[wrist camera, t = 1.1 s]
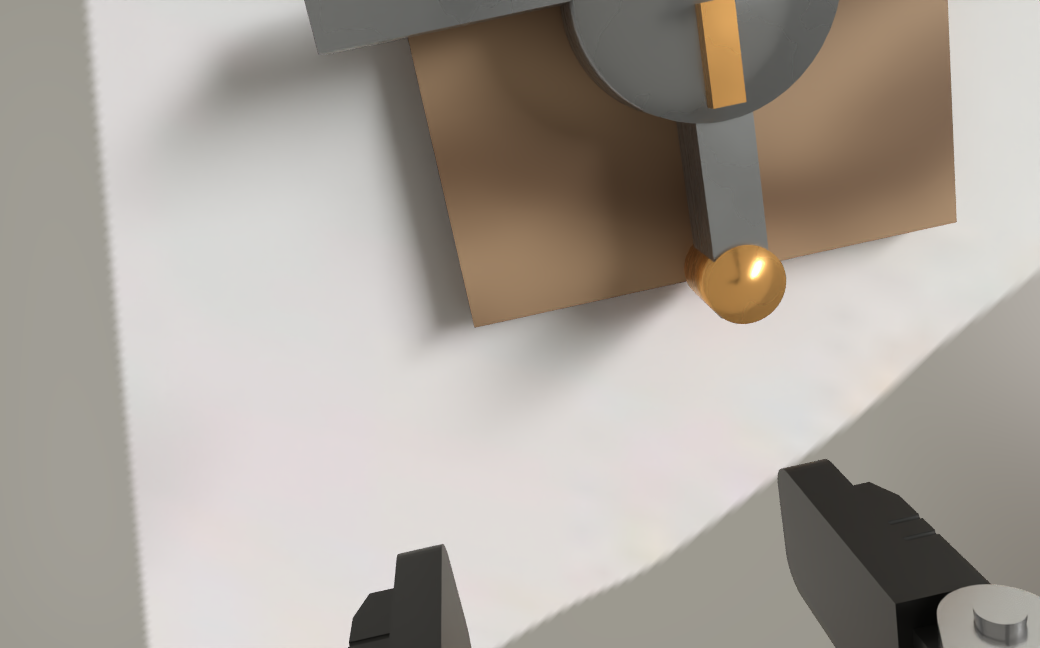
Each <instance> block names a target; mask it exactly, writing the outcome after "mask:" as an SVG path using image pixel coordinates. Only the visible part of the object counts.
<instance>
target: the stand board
mask: <svg viewBox="0 0 1040 648" xmlns="http://www.w3.org/2000/svg"><path fill="white" fill-rule="evenodd" d="M408 41H409V45H410V50H411V54H412V58H413V63H414V67H415V71H416V76H417V80H418V84H419V89H420V93H421V97H422V102H423V106H424V110H425V115H426V119H427V123H428V128H429V132H430V136H431V141H432V145H433V149H434V154H435V158H436V162H437V167H438V171H439V175H440V180H441V184H442V188H443V193H444V197H445V201H446V206H447V210H448V214H449V219H450V223H451V227H452V232H453V236H454V240H455V245H456V249H457V253H458V258H459V262H460V266H461V271H462V275H463V279H464V284H465V288H466V293H467V297H468V301H469V306H470V310H471V314H472V319H473V323H474V327H480V326H484V325H489V324H493V323H498V322H503V321H507V320H512V319H516V318H521V317H525V316H530V315H535V314H539V313H544V312H548V311H553V310H557V309H562V308H567V307H571V306H576V305H580V304H585V303H589V302H594V301H599V300H603V299H608V298H612V297H617V296H621V295H626V294H630V293H635V292H640V291H644V290H649V289H653V288H658V287H662V286H667V285H672V284H676V283H681V282H685V281H687V280H686V277H685V271H684V265H685V259H686V256H687V253H688V251H689V249H690V248H691V246H692V245H693V239H692V231H691V224H690V217H689V210H688V203H687V196H686V189H685V182H684V174H683V167H682V160H681V153H680V146H679V139H678V132H677V125H676V121H673V120H669V119H665V118H662V117H658V116H655V115H651V114H648V113H644V112H641V111H637V110H635V109H633V108H630V107H628V106H626V105H624V104H622V103H620V102H619V101H617V100H615V99H614V98H612V97H611V96H609V95H608V94H607V93H606V92H604V91H603V90H602V89H601V88H600V87H598V85H597V84H596V83H595V82H594V81H593V80H592V79H591V78H590V77H589V76H588V75H587V73H586V72H585V70H584V69H583V68H582V66H581V65H580V63H579V62H578V60H577V58H576V56H575V54H574V52H573V51H572V49H571V46H570V44H569V41H568V38H567V36H566V33H565V29H564V25H563V21H562V17H561V9H560V6H556V7H551V8H546V9H541V10H537V11H532V12H527V13H522V14H518V15H513V16H508V17H504V18H499V19H494V20H489V21H485V22H480V23H475V24H471V25H466V26H461V27H456V28H452V29H447V30H442V31H438V32H433V33H428V34H423V35H419V36H414V37H409V38H408ZM753 116H754V125H755V134H756V143H757V152H758V161H759V169H760V178H761V187H762V196H763V205H764V214H765V223H766V232H767V241H768V250H769V251H770V252H772V253H773V254H774V255H775V256H776V257H777V258H778V259H779V260H780V261H781V260H786V259H790V258H795V257H799V256H804V255H809V254H813V253H818V252H822V251H827V250H831V249H836V248H841V247H845V246H850V245H854V244H859V243H863V242H868V241H873V240H877V239H882V238H886V237H891V236H895V235H900V234H905V233H909V232H914V231H918V230H923V229H927V228H932V227H936V226H941V225H946V224H950V223H955V222H957V220H956V196H955V171H954V146H953V121H952V97H951V72H950V47H949V22H948V0H839V2H838V7H837V11H836V14H835V17H834V20H833V23H832V26H831V29H830V31H829V33H828V35H827V37H826V39H825V41H824V44H823V46H822V47H821V49H820V51H819V52H818V54H817V55H816V57H815V59H814V60H813V62H812V63H811V64H810V66H809V67H808V68H807V69H806V71H805V72H804V73H803V74H802V76H801V77H800V78H799V79H798V80H797V81H796V82H795V83H794V84H793V85H792V86H791V87H790V88H789V89H787V90H786V91H785V92H784V93H782V94H781V95H780V96H778V97H777V98H776V99H774V100H773V101H771V102H770V103H768V104H766V105H765V106H763V107H761V108H760V109H758V110H755V111H753Z"/></svg>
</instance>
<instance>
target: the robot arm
mask: <svg viewBox="0 0 1040 648" xmlns="http://www.w3.org/2000/svg"><path fill="white" fill-rule="evenodd" d="M778 489H779V497H780V506H781V514H782V522H783V531H784V538H785V546H786V555H787V560H788V564H789V568H790V571H791V574H792V577H793V580H794V582H795V585H796V587H797V589H798V591H799V593H800V594H801V596H802V597H803V599H804V600H805V602H806V604H807V605H808V606H809V608H810V609H811V611H812V613H813V614H814V616H815V617H816V619H817V620H818V622H819V623H820V625H821V626H822V628H823V629H824V631H825V632H826V634H827V635H828V637H829V638H830V640H831V641H832V643H833V644H834V646H835V647H836V648H1040V597H1039V596H1037V595H1034V594H1032V593H1030V592H1027V591H1024V590H1021V589H1017V588H1013V587H1008V586H1003V585H991V584H990V583H989V582H988V581H987V580H986V579H985V578H984V577H983V576H982V575H981V574H980V573H979V572H978V571H977V570H976V569H975V568H974V567H973V566H972V565H971V564H970V563H969V562H968V561H967V560H966V559H964V558H963V557H962V556H961V555H960V554H959V553H958V552H957V551H956V550H955V549H954V548H953V547H952V546H951V545H950V544H949V543H948V542H947V541H946V540H945V539H944V538H943V537H942V536H941V535H940V534H936V533H935V530H934V529H933V528H932V527H931V526H930V525H929V524H928V523H927V522H926V521H925V520H924V519H923V518H921V519H920V517H919V514H918V513H916V511H915V510H914V509H913V508H912V507H911V506H910V505H908V504H907V503H906V502H905V501H904V500H903V499H902V498H901V497H900V496H899V495H897V494H895V493H893V492H890V491H888V490H886V489H883V488H881V487H879V486H877V485H875V484H873V483H870V482H867V483H862V484H858V485H854V486H853V485H852V484H851V483H850V482H849V481H848V479H846V477H845V476H844V475H843V474H842V473H841V472H840V471H839V470H838V469H837V468H836V467H835V466H834V465H833V464H832V463H831V462H830V461H829V460H827V459H823V460H818V461H814V462H810V463H805V464H801V465H796V466H792V467H787V468H783V469H780V470H779V472H778ZM349 645H350V647H348V648H471V644H470V638H469V633H468V629H467V625H466V621H465V617H464V613H463V609H462V606H461V602H460V598H459V594H458V591H457V587H456V583H455V579H454V576H453V572H452V568H451V564H450V560H449V557H448V553H447V550H446V548H445V546H444V544H441V545H436V546H432V547H427V548H423V549H419V550H414V551H410V552H405V553H401V554H398V555H397V561H396V571H395V582H394V588H393V589H388V590H384V591H379V592H375V593H370V594H369V595H368V597H367V598H366V600H365V601H364V603H363V604H362V605H361V607H360V608H359V610H358V611H357V613H356V614H355V616H354V617H353V621H352V627H351V633H350V639H349Z"/></svg>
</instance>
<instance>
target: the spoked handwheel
mask: <svg viewBox="0 0 1040 648" xmlns="http://www.w3.org/2000/svg"><path fill="white" fill-rule="evenodd" d="M304 1H305V5H306V9H307V12H308V16H309V20H310V24H311V28H312V31H313V35H314V39H315V43H316V47H317V50H318V54H334V53H338V52H343V51H348V50H353V49H357V48H362V47H367V46H371V45H376V44H381V43H386V42H390V41H395V40H400V39H404V38H409V37H414V36H419V35H423V34H428V33H433V32H438V31H442V30H447V29H452V28H456V27H461V26H466V25H471V24H475V23H480V22H485V21H489V20H494V19H499V18H504V17H508V16H513V15H518V14H522V13H527V12H532V11H537V10H541V9H546V8H551V7H556V6H560V9H561V17H562V21H563V25H564V29H565V33H566V36H567V38H568V41H569V44H570V46H571V49H572V51H573V52H574V54H575V56H576V58H577V60H578V62H579V63H580V65H581V66H582V68H583V69H584V70H585V72H586V73H587V75H588V76H589V77H590V78H591V79H592V80H593V81H594V82H595V83H596V84H597V85H598V87H600V88H601V89H602V90H603V91H604V92H606V93H607V94H608V95H609V96H611V97H612V98H614V99H615V100H617V101H619V102H620V103H622V104H624V105H626V106H628V107H630V108H633V109H635V110H637V111H641V112H644V113H648V114H651V115H655V116H658V117H662V118H665V119H669V120H673V121H676V125H677V132H678V139H679V146H680V153H681V160H682V167H683V174H684V182H685V189H686V196H687V203H688V210H689V217H690V224H691V231H692V239H693V245H692V246H691V248H690V249H689V251H688V253H687V256H686V259H685V265H684V271H685V277H686V280H687V282H688V284H689V286H690V287H691V289H692V290H693V291H694V292H695V293H696V294H697V295H698V296H699V297H700V298H701V299H702V300H703V301H704V302H705V303H706V304H707V305H708V306H709V307H710V308H711V309H712V310H713V311H714V312H715V313H717V314H718V315H719V316H720V317H721V318H723V319H725V320H727V321H730V322H733V323H737V324H748V323H753V322H757V321H759V320H761V319H763V318H765V317H766V316H768V315H769V314H770V313H772V312H773V311H774V310H775V308H776V307H777V306H778V305H779V303H780V302H781V300H782V298H783V295H784V292H785V288H786V275H785V270H784V267H783V265H782V263H781V262H780V260H779V259H778V258H777V257H776V256H775V255H774V254H773V253H772V252H770V251H769V250H768V241H767V232H766V223H765V214H764V205H763V196H762V187H761V178H760V169H759V161H758V152H757V143H756V134H755V125H754V116H753V111H755V110H758V109H760V108H761V107H763V106H765V105H766V104H768V103H770V102H771V101H773V100H774V99H776V98H777V97H778V96H780V95H781V94H782V93H784V92H785V91H786V90H787V89H789V88H790V87H791V86H792V85H793V84H794V83H795V82H796V81H797V80H798V79H799V78H800V77H801V76H802V74H803V73H804V72H805V71H806V69H807V68H808V67H809V66H810V64H811V63H812V62H813V60H814V59H815V57H816V55H817V54H818V52H819V51H820V49H821V47H822V46H823V44H824V41H825V39H826V37H827V35H828V33H829V31H830V29H831V26H832V23H833V20H834V17H835V14H836V11H837V7H838V2H839V0H304Z"/></svg>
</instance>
